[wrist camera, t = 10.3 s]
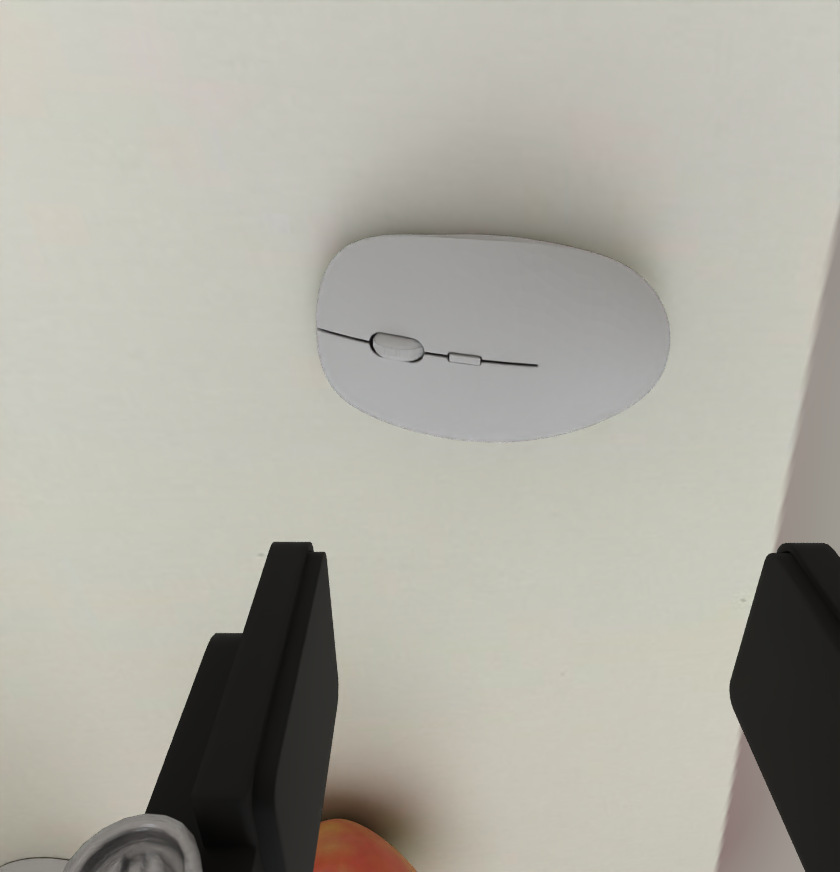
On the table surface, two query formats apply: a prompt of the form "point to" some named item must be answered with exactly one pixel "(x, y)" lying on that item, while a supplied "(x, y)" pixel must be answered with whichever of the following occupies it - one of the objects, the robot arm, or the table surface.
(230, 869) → the robot arm
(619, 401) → the computer mouse
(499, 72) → the table surface
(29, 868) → the cup
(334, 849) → the apple
